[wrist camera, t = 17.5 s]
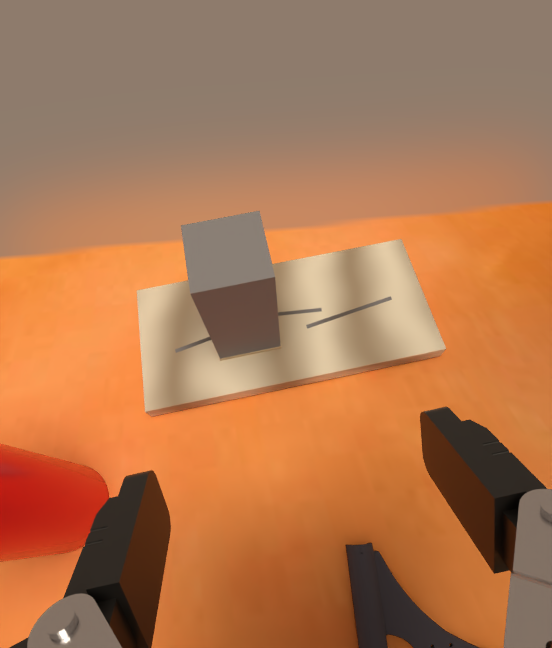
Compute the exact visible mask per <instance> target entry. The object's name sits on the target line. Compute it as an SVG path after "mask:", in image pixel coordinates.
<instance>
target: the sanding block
mask: <svg viewBox="0 0 552 648" xmlns="http://www.w3.org/2000/svg"><path fill="white" fill-rule="evenodd" d="M181 229H182V236H183V244H184V251H185V259H186V266H187V273H188V281H189V288H190V294H191V296H192V299H193V301H194V303H195V305H196V307H197V309H198V312H199V314H200V316H201V318H202V320H203V323H204V325H205V327H206V329H207V331H208V333H209V336H210V338H211V340H212V342H213V344H214V346H215V349H216V351H217V353H218V355H219V359H220V361H222V360H227V359H232V358H237V357H242V356H246V355H251V354H256V353H261V352H266V351H271V350H275V349H280V348H281V343H280V332H279V319H278V307H277V294H276V281H275V274H274V270H273V266H272V262H271V258H270V253H269V249H268V245H267V241H266V237H265V233H264V228H263V225H262V220H261V216H260V212H259V211H256V212H250V213H245V214H240V215H235V216H230V217H224V218H219V219H214V220H208V221H203V222H197V223H192V224H187V225H182V226H181Z"/></svg>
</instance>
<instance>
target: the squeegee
mask: <svg viewBox="0 0 552 648" xmlns="http://www.w3.org/2000/svg"><path fill="white" fill-rule="evenodd" d="M346 550H347V558H348V565H349V573H350V581H351V589H352V597H353V605H354V613H355V620H356V628H357V636H358V644H359V648H388V647H387V640H386V635H387V634H390V635H395V636H398V637H401V638H403V639H404V640H406V641H407V642H408V643H410V644H411V645H412V646H413V647H414V648H479V647H476V646H474V645H472V644H469V643H467V642H465V641H463V640H462V639H460V638H458V637H456V636H454V635H452V634H450V633H448V632H447V631H445V630H444V629H442V628H441V627H440V626H439V625H437V624H436V623H435V622H434V621H433V620H431V619H430V618H429V617H428V616H427V615H426V614H425V613H424V612H422V611H421V610H420V609H419V608H418V607H417V605H416V604H415V603H414V602H413V601H412V600H411V599H410V598H409V597H408V595H407V594H406V593H405V592H404V590H403V589H402V588H401V586H400V585H399V584H398V582H397V581H396V579H395V578H394V576H393V575H392V573H391V572H390V570H389V568H388V567H387V565H386V563H385V561H384V560H383V558H382V556H381V554H380V553H379V552H378V551H373V547H372V543H367V544H363V545H346ZM450 643H451V646H449V644H450ZM431 645H433V647H431Z"/></svg>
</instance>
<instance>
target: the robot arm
mask: <svg viewBox="0 0 552 648" xmlns="http://www.w3.org/2000/svg"><path fill="white" fill-rule="evenodd" d="M420 423H421V437H422V451H423V459H424V463H425V466H426V468H427V471H428V473H429V475H430V477H431V478H432V480H433V481H434V483H435V484H436V486H437V487H438V489H439V490H440V492H441V493H442V495H443V496H444V498H445V499H446V501H447V503H448V504H449V506H450V507H451V509H452V510H453V512H454V513H455V515H456V516H457V518H458V519H459V521H460V522H461V524H462V525H463V527H464V528H465V530H466V531H467V533H468V535H469V536H470V538H471V539H472V541H473V542H474V544H475V545H476V547H477V548H478V550H479V551H480V553H481V554H482V556H483V557H484V559H485V560H486V562H487V563H488V565H489V567H490V568H491V570H492V571H493V573H494V574H495V573H499V572H504V571H508V570H510V571H511V578H510V588H509V598H508V609H507V619H506V629H505V639H504V648H552V490H551V489H547V488H546V487H545V486H544V485H543V484H542V483H541V482H540V481H539V480H538V479H537V478H536V477H535V476H534V475H533V474H532V473H531V472H530V471H529V470H528V469H527V468H526V467H525V466H524V465H523V464H522V463H521V462H520V461H519V460H518V459H517V458H516V457H515V456H514V455H513V454H512V453H509V450H508V449H507V448H506V447H505V446H504V445H503V444H502V443H500V442H499V440H498V439H497V438H496V437H495V436H494V435H493V434H492V433H491V432H490V431H489V430H488V429H487V428H485V427H483V426H481V425H479V424H477V423H475V422H473V421H471V420H466V421H462V422H461V420H460V419H459V418H458V417H457V416H456V415H455V414H454V413H453V412H452V411H451V410H450V409H449V408H448V407H443V408H438V409H434V410H429V411H424V412H422V413H421V415H420ZM170 530H171V525H170V515H169V511H168V508H167V505H166V502H165V499H164V497H163V494H162V491H161V488H160V485H159V483H158V480H157V477H156V475H155V473H154V471H152V470H151V471H147V472H142V473H138V474H133V475H128V476H126V477H125V478H124V481H123V484H122V486H121V489H120V492H119V495H118V496H117V497H113V498H109V499H108V500H107V502H106V503H105V504H104V505H103V506H102V508H101V509H100V510H99V511H98V513H97V514H96V516H95V519H94V521H93V524H92V526H91V529H90V533H89V534H88V537H87V539H86V542H85V547H83V549H82V552H81V555H80V557H79V560H78V562H77V565H76V567H75V570H74V572H73V575H72V578H71V580H70V583H69V585H68V588H67V590H66V593H65V595H64V598H63V599H61V600H59V601H58V602H56V603H55V604H53V605H52V606H51V607H50V608H49V609H47V610H46V611H45V612H44V613H43V614H42V616H41V617H40V618H39V619H38V621H37V622H36V623H35V625H34V627H33V628H32V630H31V633H30V635H29V637H28V638H26V639H25V640H23V641H21V642H19V643H17V644H15V645H14V646H12V647H10V648H151V646H152V640H153V634H154V628H155V622H156V616H157V610H158V604H159V598H160V592H161V586H162V580H163V574H164V568H165V562H166V556H167V550H168V544H169V538H170Z"/></svg>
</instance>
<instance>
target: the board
mask: <svg viewBox="0 0 552 648" xmlns="http://www.w3.org/2000/svg"><path fill="white" fill-rule="evenodd" d="M272 266H273V270H274V274H275V281H276V294H277V307H278V319H279V332H280V343H281V348H280V349H275V350H271V351H266V352H261V353H256V354H251V355H246V356H242V357H237V358H232V359H227V360H222V361H220V359H219V355H218V353H217V351H216V349H215V346H214V344H213V342H212V340H211V338H210V336H209V333H208V331H207V329H206V327H205V325H204V323H203V320H202V318H201V316H200V314H199V312H198V309H197V307H196V305H195V303H194V301H193V299H192V296H191V294H190V288H189V281H183V282H178V283H173V284H168V285H163V286H158V287H153V288H147V289H142V290H137V301H138V315H139V330H140V344H141V359H142V374H143V388H144V403H145V412H146V413H148V414H149V415H150V416H157V415H162V414H166V413H171V412H176V411H181V410H185V409H190V408H195V407H200V406H204V405H209V404H214V403H219V402H224V401H228V400H233V399H238V398H243V397H247V396H252V395H257V394H262V393H266V392H271V391H276V390H281V389H286V388H290V387H295V386H300V385H305V384H309V383H314V382H319V381H324V380H328V379H333V378H338V377H343V376H348V375H352V374H357V373H362V372H367V371H371V370H376V369H381V368H386V367H390V366H395V365H400V364H405V363H409V362H414V361H419V360H424V359H429V358H433V357H438V356H440V355H441V354H442V353H443V352H444V351H445V350H446V347H445V345H444V342H443V340H442V337H441V335H440V332H439V330H438V328H437V325H436V323H435V320H434V318H433V315H432V313H431V310H430V308H429V306H428V303H427V301H426V298H425V296H424V293H423V291H422V288H421V286H420V284H419V281H418V279H417V276H416V274H415V271H414V269H413V266H412V264H411V262H410V259H409V257H408V254H407V252H406V249H405V247H404V244H403V242H402V240H401V239H399V240H394V241H389V242H384V243H379V244H373V245H368V246H363V247H358V248H353V249H348V250H343V251H338V252H332V253H327V254H322V255H317V256H312V257H307V258H302V259H296V260H291V261H286V262H281V263H276V264H272Z"/></svg>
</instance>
